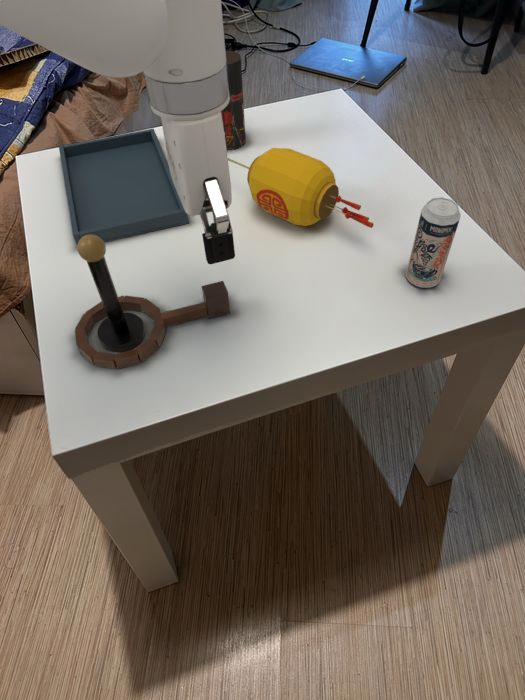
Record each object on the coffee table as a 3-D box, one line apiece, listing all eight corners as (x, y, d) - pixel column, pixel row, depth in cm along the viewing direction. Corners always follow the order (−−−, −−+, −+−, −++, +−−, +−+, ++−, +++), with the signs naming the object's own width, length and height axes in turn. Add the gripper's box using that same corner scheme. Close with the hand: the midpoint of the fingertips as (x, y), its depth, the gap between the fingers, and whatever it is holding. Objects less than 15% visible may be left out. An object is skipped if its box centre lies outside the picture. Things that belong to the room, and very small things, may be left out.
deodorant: (211, 137, 101) (201, 53, 89) (240, 131, 102) (235, 48, 90) (218, 152, 97) (210, 67, 85) (249, 146, 98) (245, 61, 86)
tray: (77, 248, 80) (73, 235, 79) (62, 158, 97) (58, 146, 95) (189, 223, 84) (187, 210, 82) (155, 140, 100) (153, 128, 99)
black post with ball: (102, 357, 66) (61, 261, 54) (96, 324, 70) (57, 227, 58) (149, 345, 68) (119, 248, 55) (141, 313, 71) (111, 215, 59)
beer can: (400, 283, 73) (417, 212, 64) (411, 263, 76) (429, 191, 67) (434, 294, 72) (457, 222, 63) (443, 273, 75) (467, 201, 65)
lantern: (395, 172, 72) (230, 111, 84) (356, 220, 69) (191, 150, 81) (392, 222, 80) (243, 160, 93) (357, 267, 78) (208, 197, 90)
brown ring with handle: (83, 378, 64) (73, 358, 61) (75, 315, 71) (65, 295, 68) (239, 336, 68) (237, 315, 65) (217, 281, 75) (214, 259, 72)
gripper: (132, 56, 53) (163, 200, 66) (167, 139, 42) (196, 290, 56) (203, 43, 54) (220, 187, 67) (255, 121, 44) (263, 273, 57)
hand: (209, 234), depth 62 cm, fingers open, 9 cm apart
